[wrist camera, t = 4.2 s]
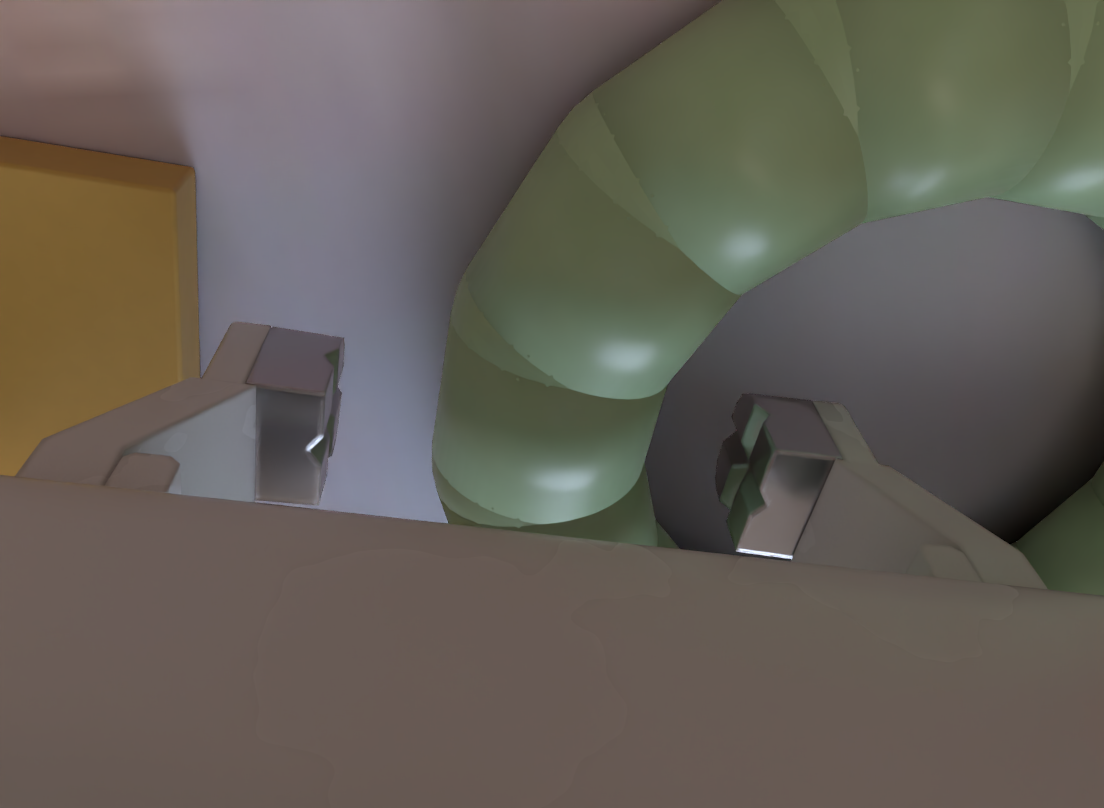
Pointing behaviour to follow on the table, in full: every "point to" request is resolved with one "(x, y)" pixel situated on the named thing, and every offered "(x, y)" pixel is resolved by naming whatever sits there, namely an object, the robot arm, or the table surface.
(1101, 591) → the ring
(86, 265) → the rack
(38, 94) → the table surface
